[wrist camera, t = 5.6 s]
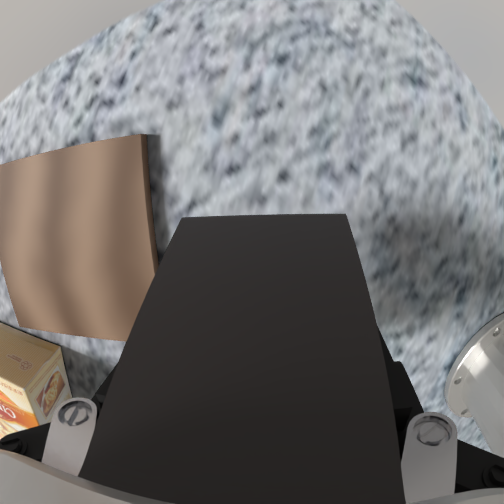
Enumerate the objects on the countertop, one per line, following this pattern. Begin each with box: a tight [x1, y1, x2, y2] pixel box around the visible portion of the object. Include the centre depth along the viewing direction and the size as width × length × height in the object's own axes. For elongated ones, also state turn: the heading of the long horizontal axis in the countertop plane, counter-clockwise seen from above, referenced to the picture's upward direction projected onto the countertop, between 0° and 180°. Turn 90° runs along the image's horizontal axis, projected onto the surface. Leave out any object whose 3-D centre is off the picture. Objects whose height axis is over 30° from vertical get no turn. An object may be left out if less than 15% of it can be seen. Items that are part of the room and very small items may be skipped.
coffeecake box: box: [0, 322, 72, 439], centre depth 25 cm, size 15×7×20 cm
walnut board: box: [0, 134, 159, 341], centre depth 22 cm, size 16×15×1 cm
